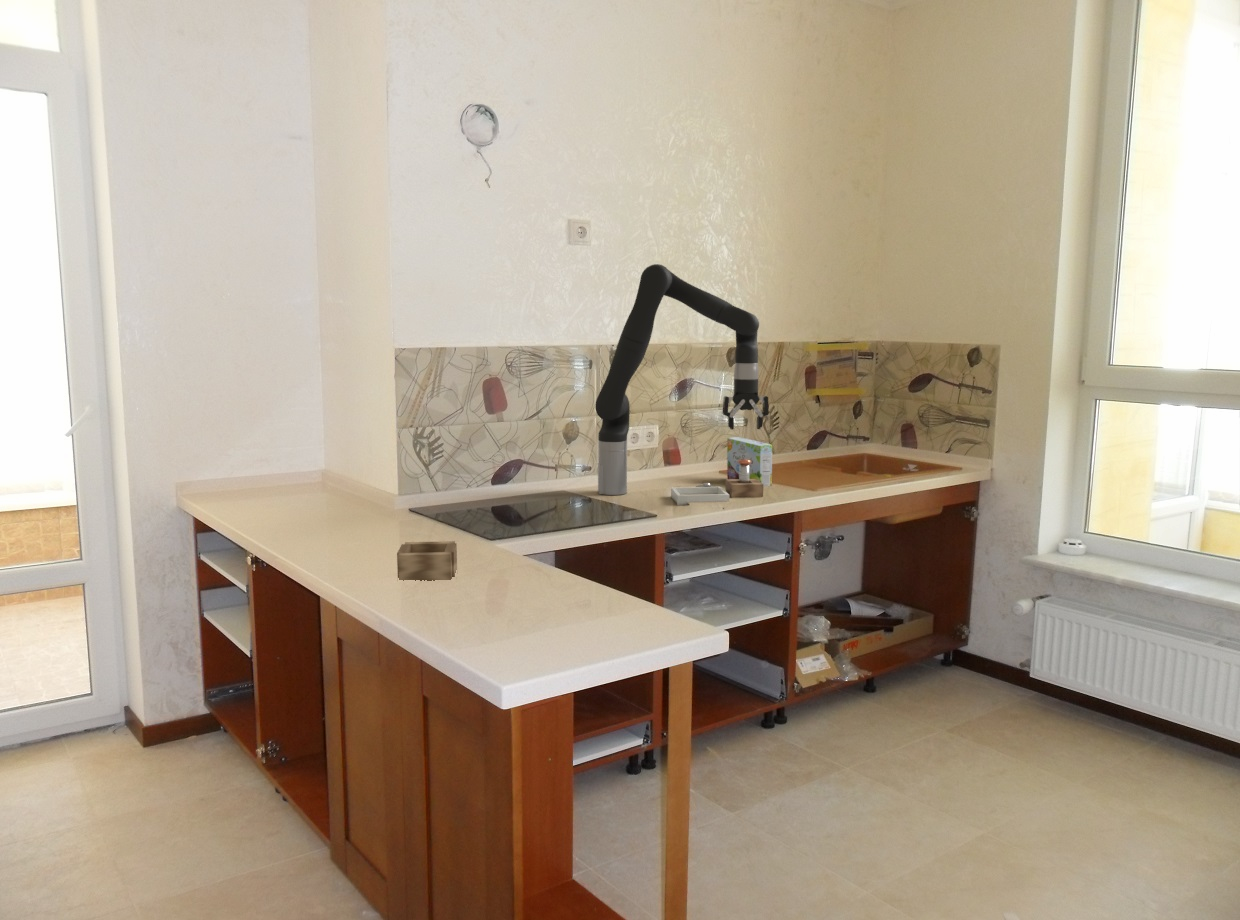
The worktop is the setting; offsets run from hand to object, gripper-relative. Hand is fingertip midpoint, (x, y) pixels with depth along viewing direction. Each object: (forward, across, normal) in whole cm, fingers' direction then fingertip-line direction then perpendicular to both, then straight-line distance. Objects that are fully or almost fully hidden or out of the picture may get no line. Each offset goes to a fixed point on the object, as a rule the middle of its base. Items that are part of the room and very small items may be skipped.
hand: (745, 429), depth 302 cm
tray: (+22, -15, -4) cm, 27 cm away
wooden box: (+22, 0, 0) cm, 22 cm away
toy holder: (+22, -90, -88) cm, 128 cm away
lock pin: (+21, 0, 0) cm, 21 cm away
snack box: (+22, +7, +24) cm, 33 cm away
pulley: (+22, -11, +6) cm, 25 cm away
